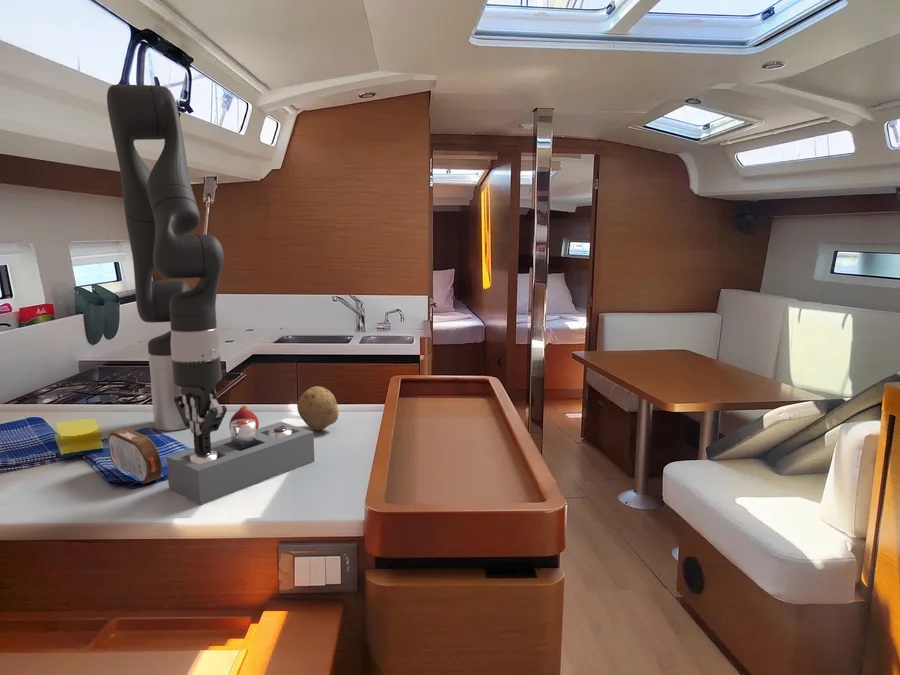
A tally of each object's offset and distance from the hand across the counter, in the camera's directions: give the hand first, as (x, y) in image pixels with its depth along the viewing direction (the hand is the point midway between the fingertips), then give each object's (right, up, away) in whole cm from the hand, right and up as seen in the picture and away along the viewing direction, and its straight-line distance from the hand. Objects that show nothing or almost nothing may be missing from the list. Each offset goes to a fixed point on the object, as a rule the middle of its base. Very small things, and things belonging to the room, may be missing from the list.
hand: (203, 453), depth 104 cm
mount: (+5, -5, +8) cm, 10 cm away
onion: (-1, -2, +24) cm, 25 cm away
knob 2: (+10, -2, +13) cm, 17 cm away
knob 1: (0, -4, +1) cm, 4 cm away
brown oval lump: (+13, -1, +33) cm, 35 cm away
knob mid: (+5, +1, +6) cm, 8 cm away
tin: (-15, -6, +6) cm, 17 cm away
